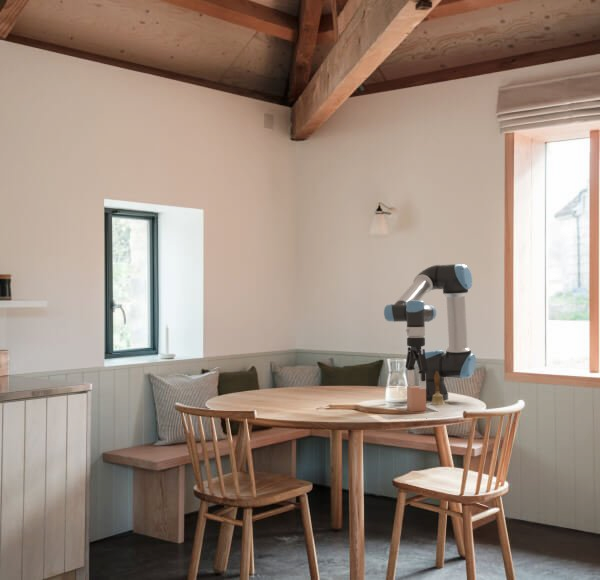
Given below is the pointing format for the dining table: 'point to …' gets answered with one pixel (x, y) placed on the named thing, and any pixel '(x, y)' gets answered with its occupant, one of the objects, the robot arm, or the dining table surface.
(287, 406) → the dining table surface
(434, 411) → the board
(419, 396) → the pink upright block
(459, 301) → the robot arm
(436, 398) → the hand bell
